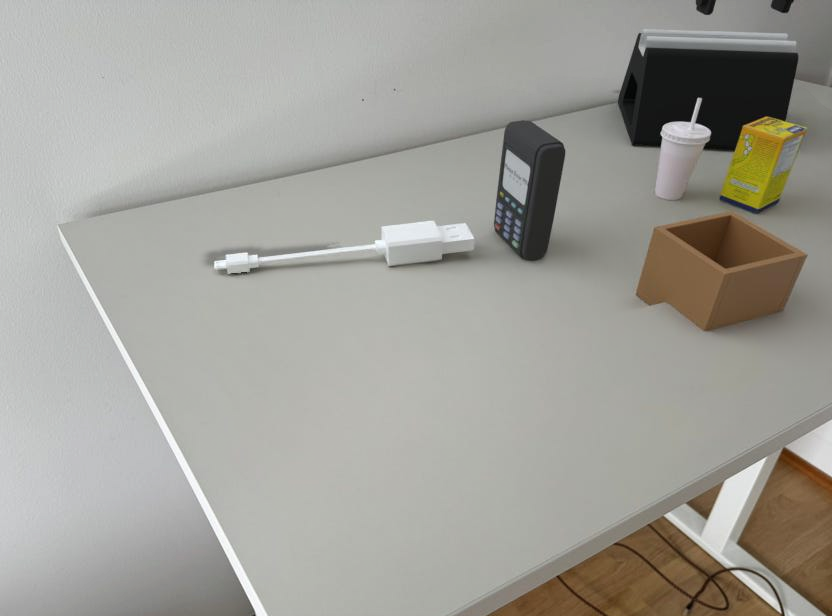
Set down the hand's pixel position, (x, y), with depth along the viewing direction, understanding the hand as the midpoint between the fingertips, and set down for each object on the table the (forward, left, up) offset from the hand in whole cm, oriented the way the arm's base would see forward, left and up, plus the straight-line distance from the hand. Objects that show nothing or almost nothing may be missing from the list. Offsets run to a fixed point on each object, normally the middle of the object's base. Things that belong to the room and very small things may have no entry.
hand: (741, 11), depth 89 cm
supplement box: (-6, +6, -25) cm, 26 cm away
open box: (+19, +25, -24) cm, 40 cm away
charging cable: (+53, +1, -24) cm, 58 cm away
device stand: (-19, -21, -24) cm, 38 cm away
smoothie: (+3, 0, -25) cm, 25 cm away
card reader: (+31, +5, -25) cm, 40 cm away
